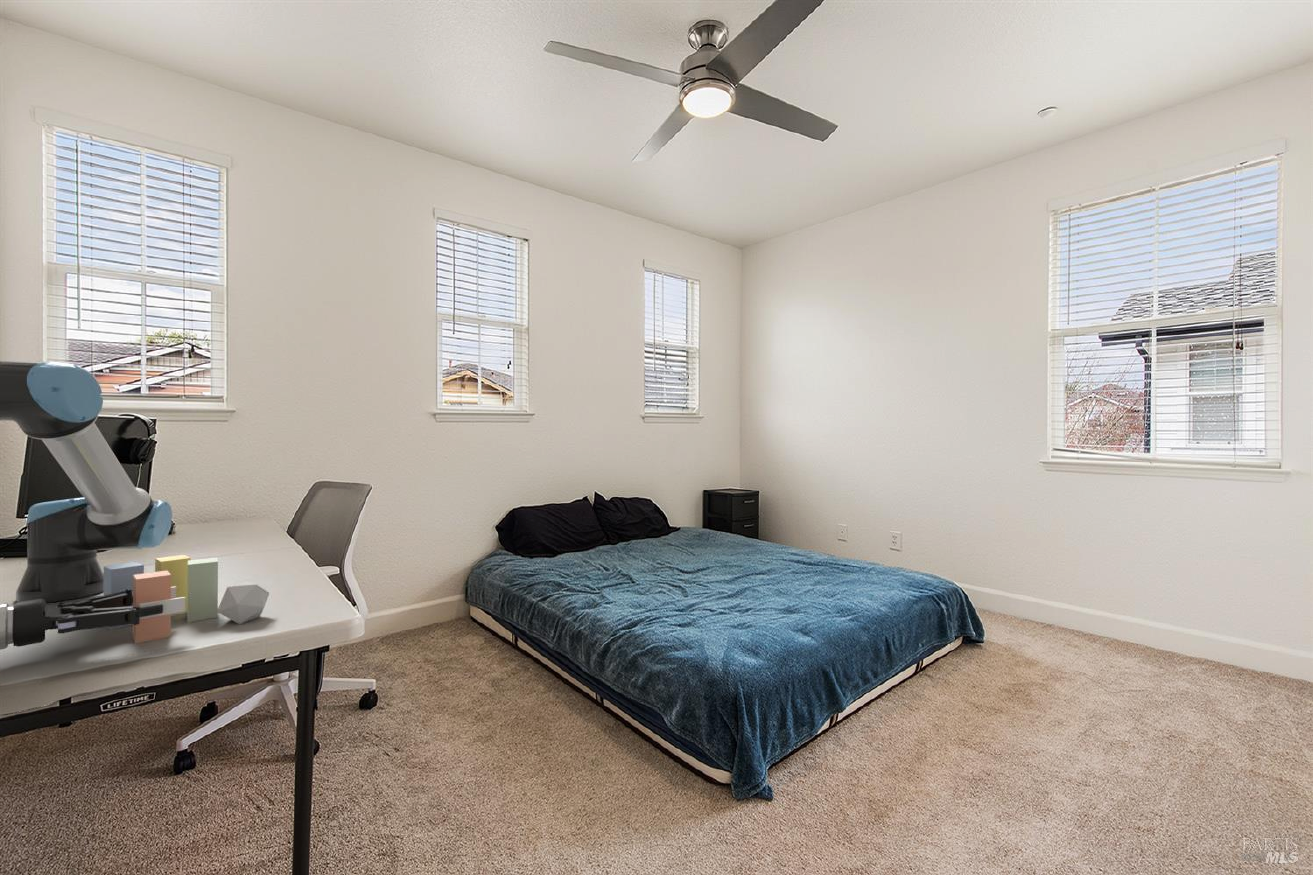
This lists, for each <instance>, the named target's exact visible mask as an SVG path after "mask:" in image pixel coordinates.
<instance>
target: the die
mask: <svg viewBox="0 0 1313 875" xmlns="http://www.w3.org/2000/svg"><path fill="white" fill-rule="evenodd" d="M269 596H270V592H269V591H267V590H266V589H265V588H263V587H261V586H259V585H258V584H256V583H255V582H252V581H249V580H245V581H242V582H239V583H234V584H232V585H230V586H229V585H228V586H226V589H225V591H224V594H223V596H222V598H221V601H220V603H219V606H218V610H217V612H218V614H221V615H222V616H223V617H225V618H228V619H230V620H231V621H233V622H234V623H236V624H239V625H242V624H244V623H247V622H249V621H252V620H254V619H257V618H260V617H261V615H262V613H263V611H264V608H265V606H266V603H267V601H268V598H269Z"/></svg>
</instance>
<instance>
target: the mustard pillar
mask: <svg viewBox="0 0 1313 875" xmlns="http://www.w3.org/2000/svg"><path fill="white" fill-rule="evenodd" d="M188 560H192V559H191V557H190V556H187V555H185V554H180V555H172V556H171V555H170V556H165V557H158V558H157V557H156V558H154V561H155V562H154V572H159V571H168V572H169V573H170V574H171V587H174V586H176V598H180V597H185V612H179V613H174V614H171V617H172V616H177V615H183V614H187V613H188Z"/></svg>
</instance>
